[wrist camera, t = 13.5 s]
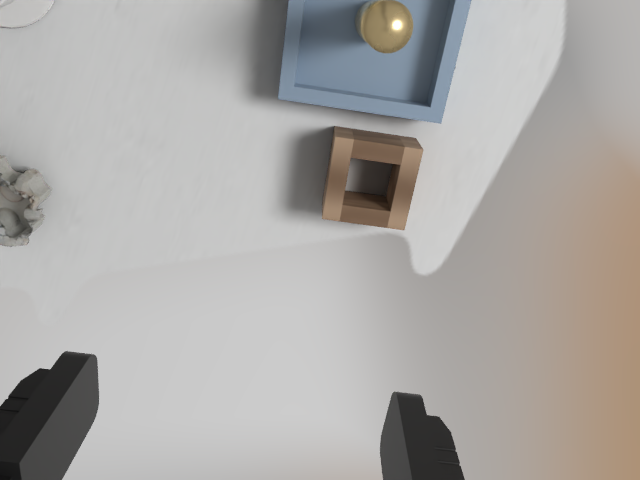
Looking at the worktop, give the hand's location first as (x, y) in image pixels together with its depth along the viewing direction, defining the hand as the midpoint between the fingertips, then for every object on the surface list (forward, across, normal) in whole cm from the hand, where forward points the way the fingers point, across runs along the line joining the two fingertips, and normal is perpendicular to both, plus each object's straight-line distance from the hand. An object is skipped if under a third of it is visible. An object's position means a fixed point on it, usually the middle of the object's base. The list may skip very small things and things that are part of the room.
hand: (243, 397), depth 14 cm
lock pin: (+35, -5, -9) cm, 37 cm away
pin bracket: (+36, -7, +4) cm, 37 cm away
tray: (+36, -5, -9) cm, 38 cm away
